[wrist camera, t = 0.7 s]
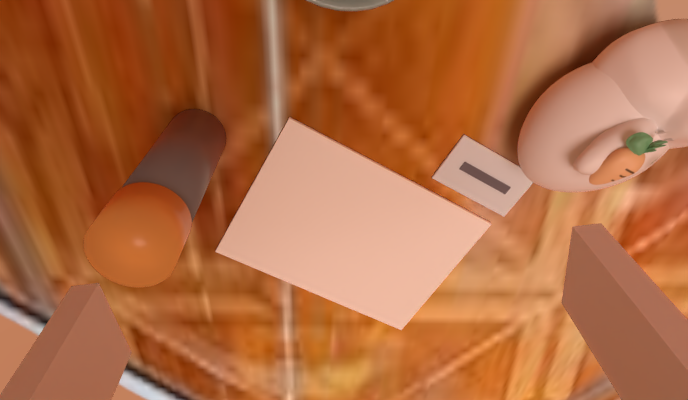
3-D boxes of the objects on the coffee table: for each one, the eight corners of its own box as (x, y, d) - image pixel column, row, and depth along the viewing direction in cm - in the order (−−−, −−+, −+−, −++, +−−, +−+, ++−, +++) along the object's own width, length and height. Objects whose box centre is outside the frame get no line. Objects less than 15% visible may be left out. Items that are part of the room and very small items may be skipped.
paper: (215, 249, 40) (215, 251, 40) (289, 116, 35) (289, 118, 34) (400, 327, 45) (401, 330, 45) (490, 222, 40) (491, 224, 39)
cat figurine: (558, 239, 29) (854, 79, 23) (480, 127, 30) (747, -57, 24) (558, 210, 38) (773, 88, 32) (497, 124, 39) (697, -11, 32)
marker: (158, 146, 35) (72, 266, 23) (180, 96, 34) (99, 199, 22) (213, 171, 37) (158, 299, 24) (237, 125, 35) (190, 237, 23)
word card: (431, 177, 37) (432, 178, 37) (463, 134, 36) (464, 135, 36) (503, 215, 39) (504, 217, 39) (536, 176, 38) (538, 178, 37)
